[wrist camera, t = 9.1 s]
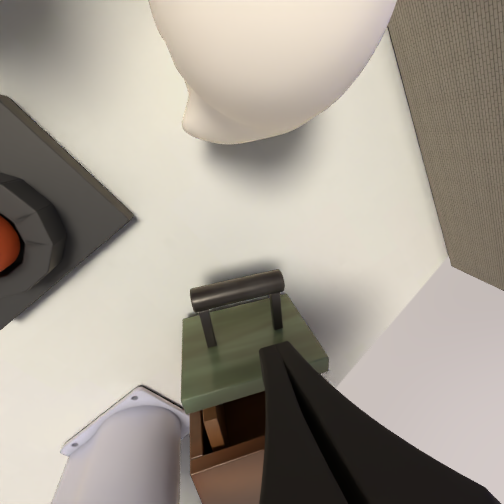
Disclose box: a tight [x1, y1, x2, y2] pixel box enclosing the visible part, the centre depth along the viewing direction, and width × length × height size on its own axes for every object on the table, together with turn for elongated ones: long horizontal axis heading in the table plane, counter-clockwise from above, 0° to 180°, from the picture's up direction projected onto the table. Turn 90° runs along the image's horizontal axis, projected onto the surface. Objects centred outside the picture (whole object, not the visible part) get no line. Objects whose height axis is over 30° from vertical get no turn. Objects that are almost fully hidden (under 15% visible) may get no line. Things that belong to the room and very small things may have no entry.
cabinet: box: [190, 410, 265, 504], centre depth 21 cm, size 11×10×9 cm
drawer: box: [181, 269, 329, 452], centre depth 18 cm, size 14×8×7 cm, turn 7°
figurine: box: [149, 0, 397, 144], centre depth 9 cm, size 7×8×12 cm
